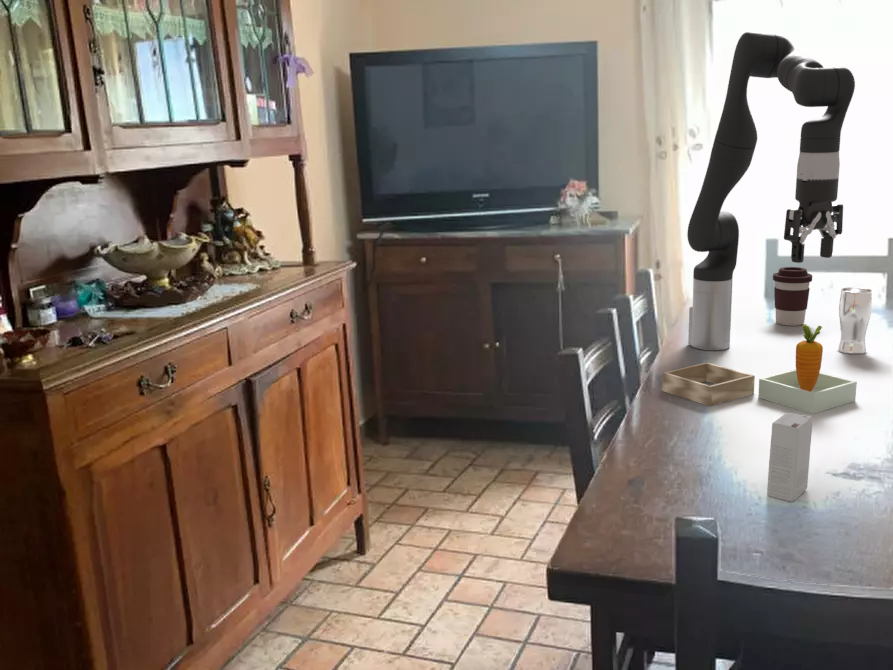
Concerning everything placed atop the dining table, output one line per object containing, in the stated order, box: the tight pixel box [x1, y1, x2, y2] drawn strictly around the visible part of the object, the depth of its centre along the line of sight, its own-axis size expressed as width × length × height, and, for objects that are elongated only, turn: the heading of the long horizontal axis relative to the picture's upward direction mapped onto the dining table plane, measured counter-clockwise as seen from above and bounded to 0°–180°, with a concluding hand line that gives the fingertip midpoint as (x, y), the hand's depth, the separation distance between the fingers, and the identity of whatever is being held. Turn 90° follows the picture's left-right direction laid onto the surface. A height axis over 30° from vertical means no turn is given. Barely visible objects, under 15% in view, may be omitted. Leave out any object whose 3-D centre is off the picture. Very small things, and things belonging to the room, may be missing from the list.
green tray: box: [757, 368, 858, 415], centre depth 182 cm, size 13×13×4 cm
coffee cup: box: [772, 266, 813, 327], centre depth 245 cm, size 10×10×15 cm
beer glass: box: [837, 286, 873, 355], centre depth 215 cm, size 7×7×15 cm
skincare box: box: [766, 412, 814, 503], centre depth 138 cm, size 6×4×12 cm
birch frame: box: [662, 362, 756, 407], centre depth 189 cm, size 13×13×4 cm
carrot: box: [795, 323, 824, 392], centre depth 181 cm, size 5×5×15 cm
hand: (811, 259), depth 177 cm, fingers open, 8 cm apart
